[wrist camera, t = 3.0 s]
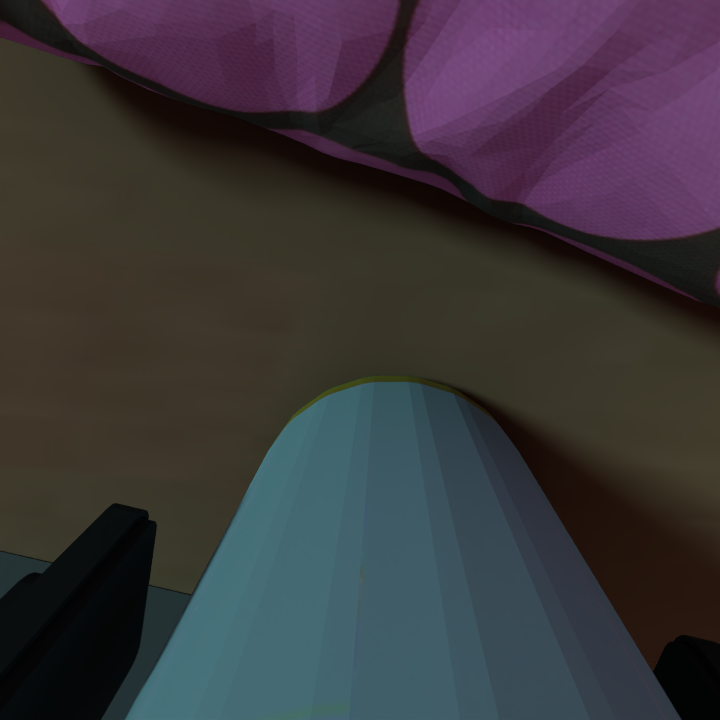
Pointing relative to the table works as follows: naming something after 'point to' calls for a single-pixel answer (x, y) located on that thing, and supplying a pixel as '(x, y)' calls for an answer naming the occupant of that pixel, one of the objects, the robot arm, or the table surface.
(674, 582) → the table surface
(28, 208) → the table surface
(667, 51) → the pencil case
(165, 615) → the box
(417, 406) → the bottle
